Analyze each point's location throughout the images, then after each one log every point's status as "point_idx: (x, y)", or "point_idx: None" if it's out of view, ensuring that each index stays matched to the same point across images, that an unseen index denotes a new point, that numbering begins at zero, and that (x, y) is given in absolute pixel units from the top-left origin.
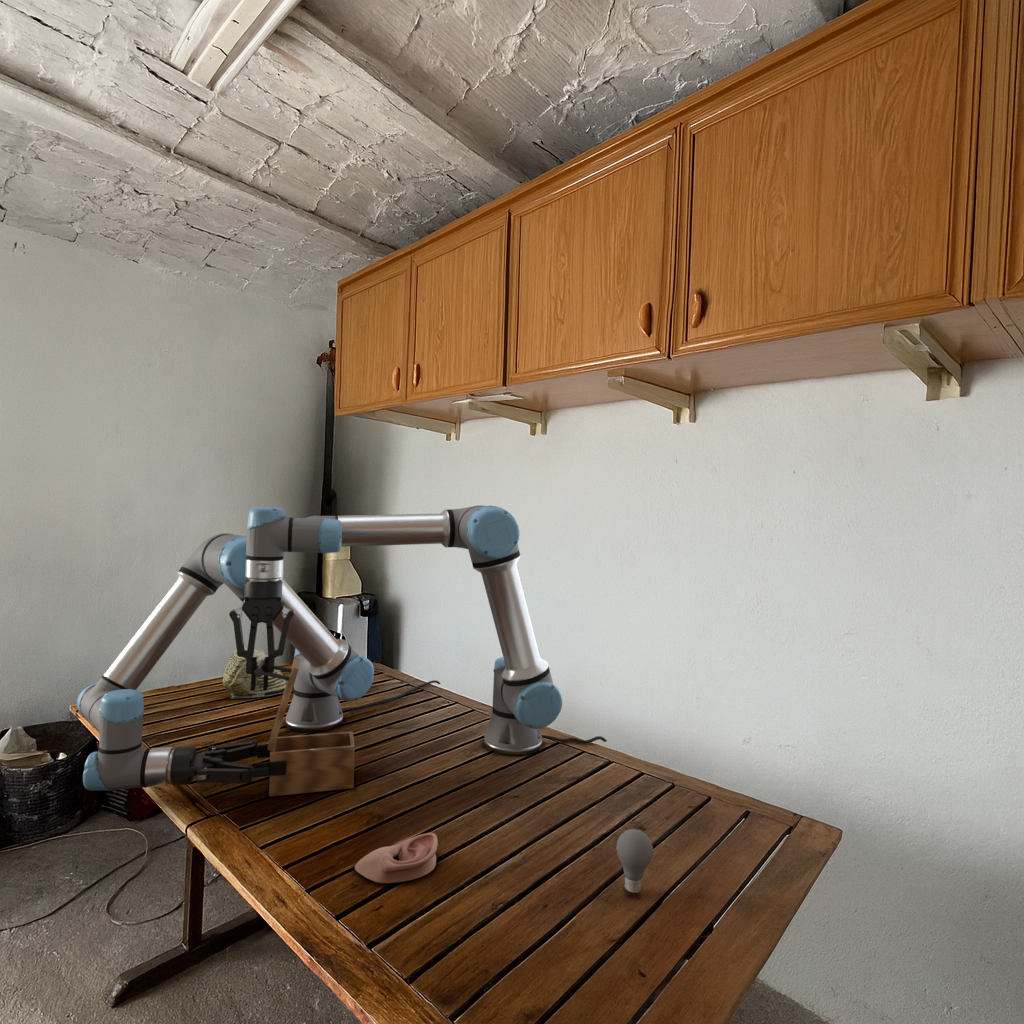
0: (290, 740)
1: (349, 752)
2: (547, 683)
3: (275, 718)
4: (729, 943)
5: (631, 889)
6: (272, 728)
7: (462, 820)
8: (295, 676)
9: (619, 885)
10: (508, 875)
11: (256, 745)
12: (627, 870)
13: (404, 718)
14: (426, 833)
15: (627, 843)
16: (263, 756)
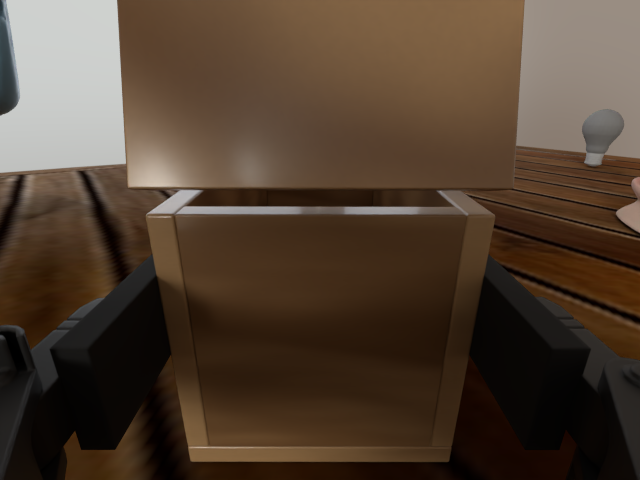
0: (214, 201)
1: None
2: None
3: (158, 15)
4: (633, 160)
5: (600, 162)
6: (198, 106)
7: (491, 197)
8: None
9: (585, 168)
10: (621, 190)
11: (33, 365)
12: (609, 144)
13: (5, 204)
14: (638, 182)
15: (620, 117)
16: (138, 395)
